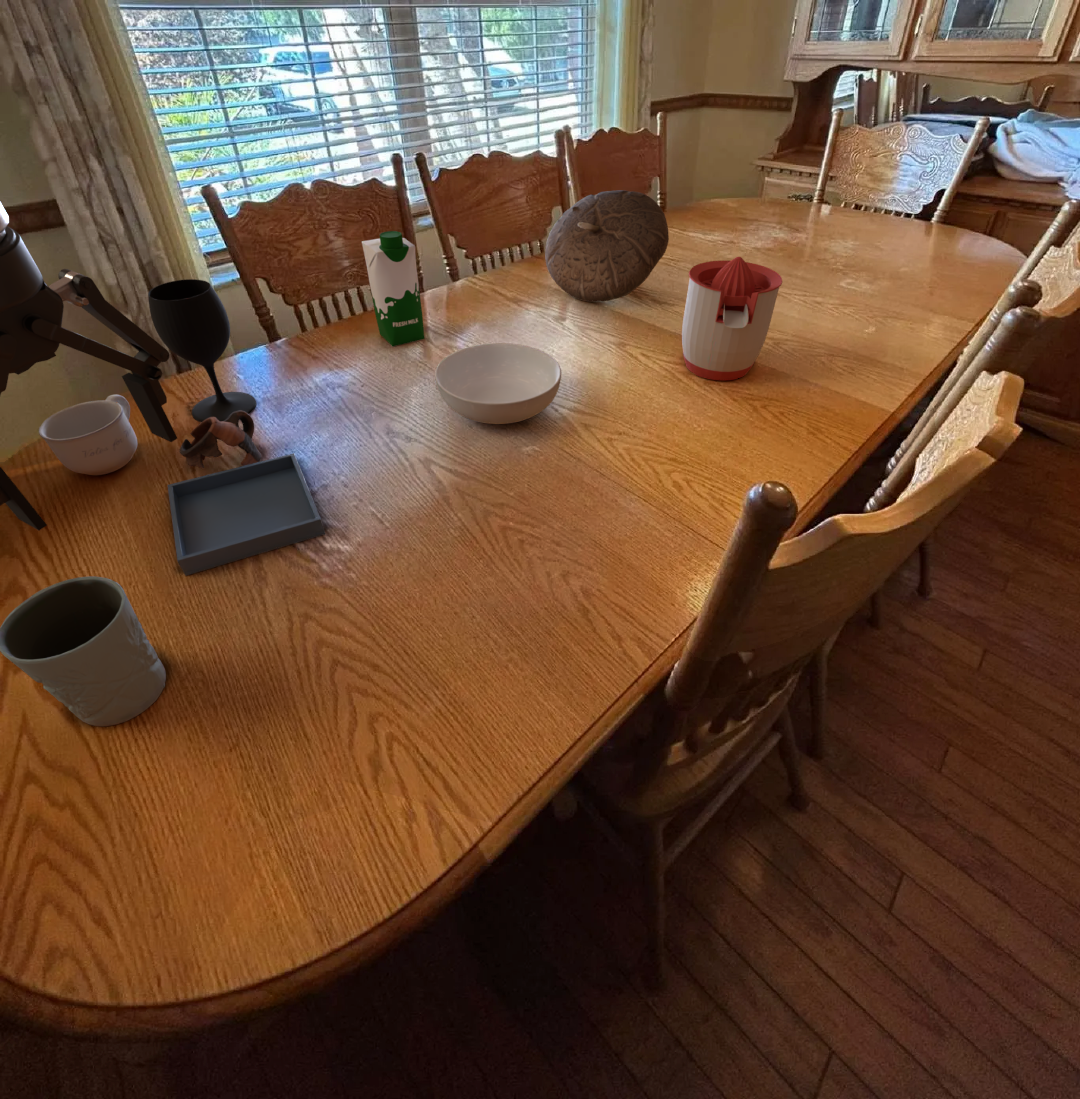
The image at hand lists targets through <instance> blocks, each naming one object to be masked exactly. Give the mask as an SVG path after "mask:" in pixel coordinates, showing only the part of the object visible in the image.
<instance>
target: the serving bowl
mask: <svg viewBox="0 0 1080 1099" xmlns="http://www.w3.org/2000/svg"><path fill="white" fill-rule="evenodd" d="M561 379H562V368H561V365H560V364H559V362H558V361H557V360H556V359H555V358H554V357H553V356H552V355H551V354H549V353H548V352H546V351H544V350H542V349H539V348H536V347H533V346H530V345H525V344H521V343H520V344H519V343H512V342H489V343H480V344H475V345H470V346H467V347H463V348H461V349H457V350H456V351H454V352H451V353H450V354H448V355H446V356H445V357H444V358H443V359H441V360H440V362H438V364H437V366H436V367H435V371H434V381H435V384H436V387H437V391H438V393H439V395H440V397H441V398H442V400H443V401H444V403H445V404H446V405H447V406H448V407H449V408H450V409H451V410H452V411H454V412H455V413H456V414H458V415H459V416H462V417H463V418H465V419H468V420H471V421H473V422H477V423H482V424H488V425H489V424H490V425H506V424H513V423H518V422H522V421H525V420H528V419H530V418H533V417H535V416H537V415H538V414H540V413H542V412H543V411H544V410H545V409H547V408H548V407H549V406H550V404H551V403H552V402H553V400H554V399H555V398H556V396H557V394H558V391H559V388H560V384H561V381H562V380H561Z"/></svg>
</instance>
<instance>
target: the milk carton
mask: <svg viewBox="0 0 1080 1099" xmlns="http://www.w3.org/2000/svg"><path fill="white" fill-rule="evenodd" d="M361 246H362V250H363V255H364V259H365V265H366V269H367V275H368V276H367V277H368V282H369V287H370V293H371V297H372V299H371V300H372V305H373V309H374V310H373V311H374V314H375V320H376V324H377V328H378V333H379V335H380V336H381V337H382V338H383V339H384V340H385V341H386V342H387V343H388V344H389V345H390V346H391V347H392V348H394V347H397V346H401V345H407V344H409V343H415V342H418V341H422V340H425V337H426V336H425V329H424V327H425V326H424V319H423V318H424V317H423V308H422V301H421V300H422V299H421V293H420V284H419V276H418V268H417V257H416V246H415V244H414V243H412V242H411V241H409V240H407V238H405V237H403V233H402V232H400V231H396V230H389V231H383V232H381V233H379V238H374V239H368V240H363V241H361Z"/></svg>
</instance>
